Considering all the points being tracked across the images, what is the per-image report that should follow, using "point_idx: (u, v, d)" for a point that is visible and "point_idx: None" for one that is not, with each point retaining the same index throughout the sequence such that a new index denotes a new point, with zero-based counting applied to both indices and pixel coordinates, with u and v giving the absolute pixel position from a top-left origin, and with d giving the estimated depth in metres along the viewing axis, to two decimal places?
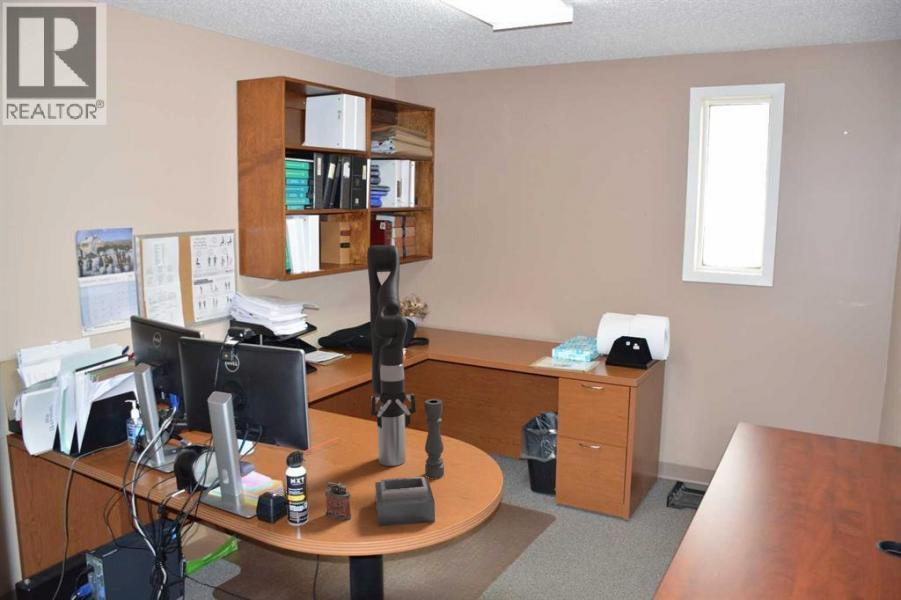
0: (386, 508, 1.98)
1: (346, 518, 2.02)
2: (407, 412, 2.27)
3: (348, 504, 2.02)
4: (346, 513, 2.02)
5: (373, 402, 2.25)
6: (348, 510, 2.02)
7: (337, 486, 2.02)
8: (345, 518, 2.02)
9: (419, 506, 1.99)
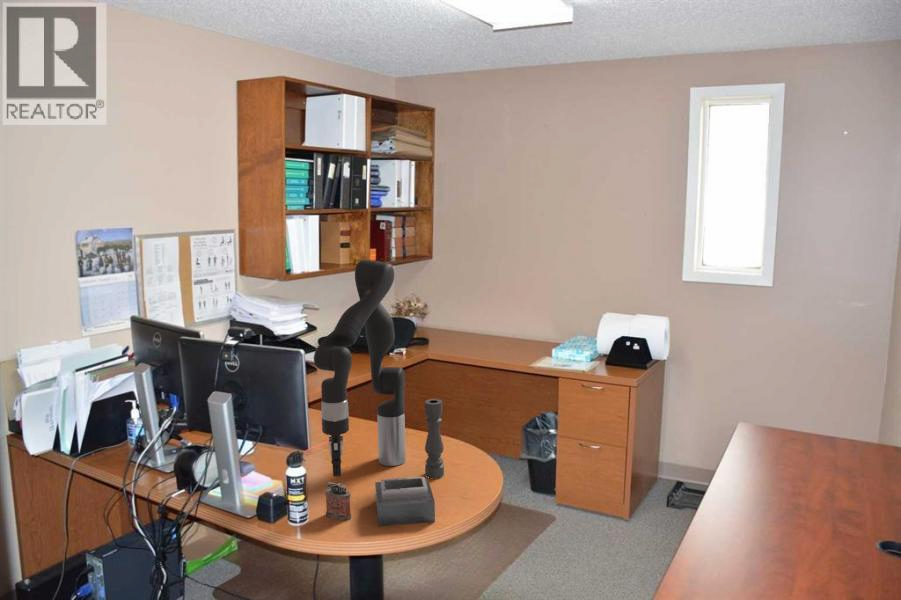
0: (386, 508, 1.98)
1: (346, 518, 2.02)
2: None
3: (348, 504, 2.02)
4: (346, 513, 2.02)
5: (340, 448, 1.94)
6: (348, 510, 2.02)
7: (337, 486, 2.02)
8: (345, 518, 2.02)
9: (419, 506, 1.99)
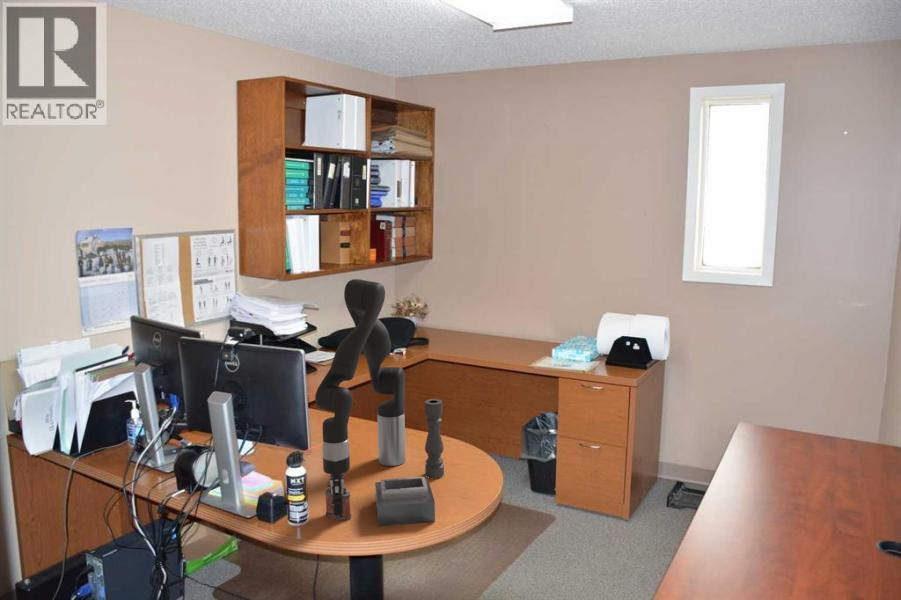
0: (386, 508, 1.98)
1: (346, 518, 2.02)
2: None
3: (348, 504, 2.02)
4: (346, 513, 2.02)
5: (341, 490, 1.97)
6: (348, 510, 2.02)
7: None
8: (345, 518, 2.02)
9: (419, 506, 1.99)
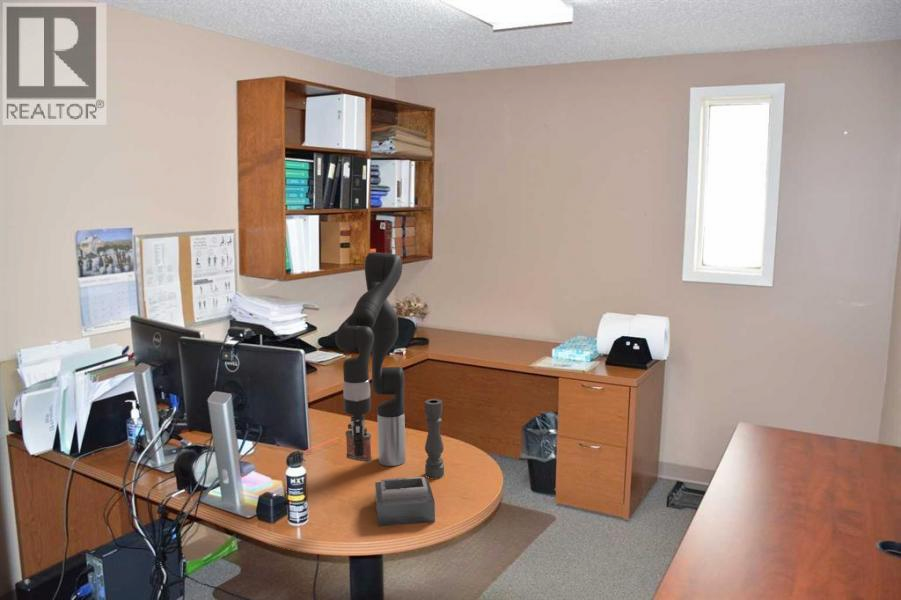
0: (386, 508, 1.98)
1: (367, 459, 2.00)
2: None
3: (369, 445, 2.00)
4: (367, 455, 2.00)
5: (362, 430, 1.95)
6: (369, 451, 2.00)
7: None
8: (366, 459, 2.00)
9: (419, 506, 1.99)
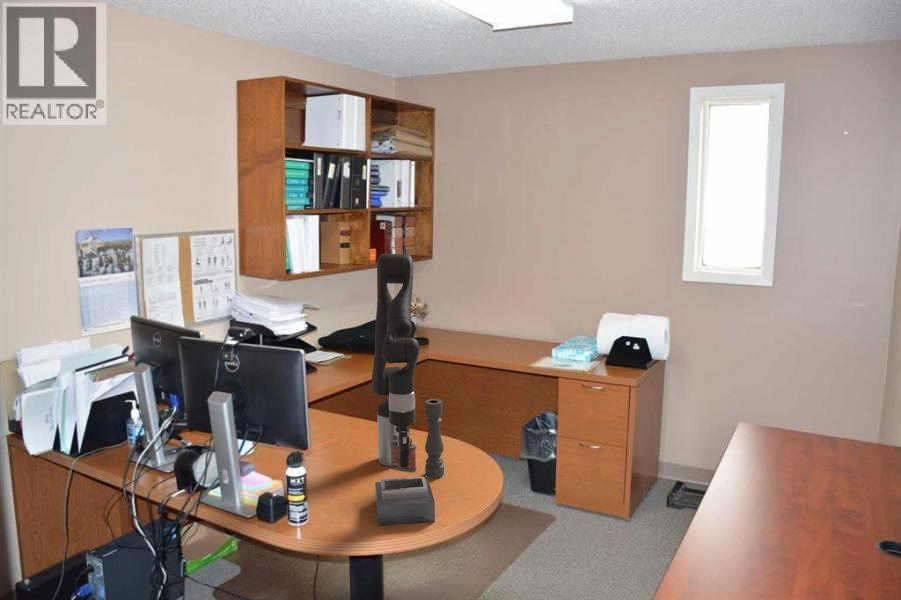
0: (386, 508, 1.98)
1: (412, 470, 2.02)
2: None
3: (414, 456, 2.02)
4: (412, 465, 2.02)
5: (408, 442, 1.98)
6: (414, 462, 2.03)
7: None
8: (411, 470, 2.02)
9: (419, 506, 1.99)
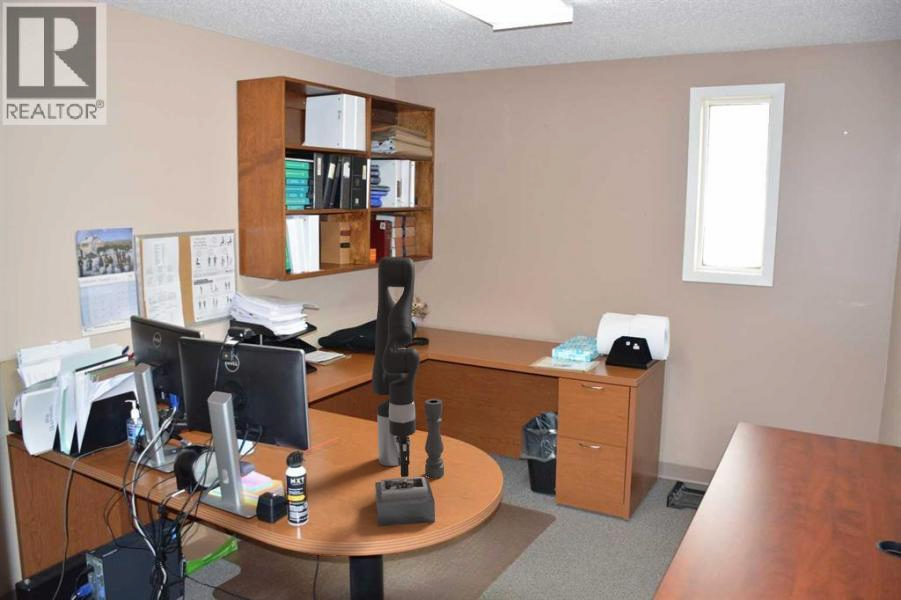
0: (386, 508, 1.98)
1: None
2: None
3: None
4: None
5: (408, 449, 1.97)
6: None
7: (405, 482, 2.04)
8: None
9: (419, 506, 1.99)
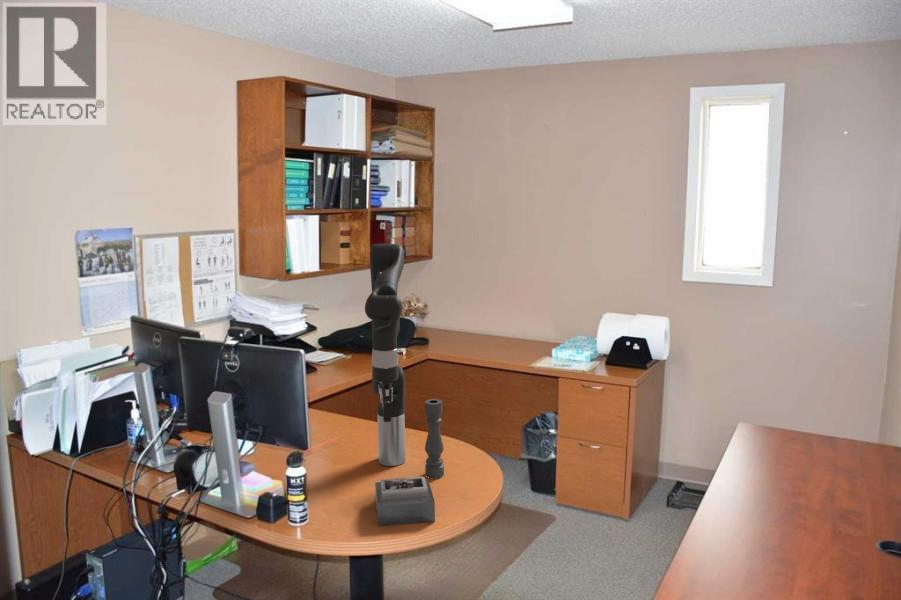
0: (386, 508, 1.98)
1: None
2: None
3: None
4: None
5: None
6: None
7: (405, 482, 2.04)
8: None
9: (419, 506, 1.99)
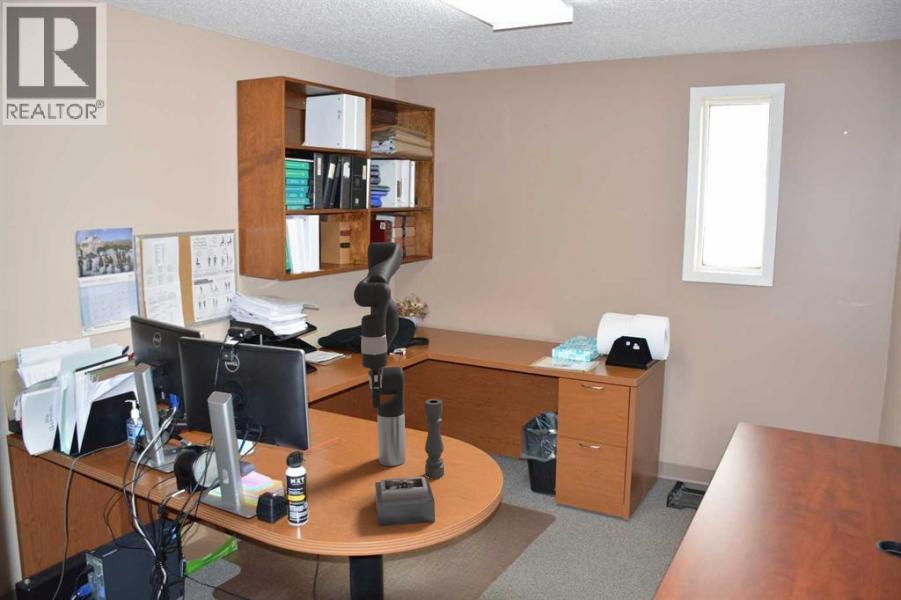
0: (386, 508, 1.98)
1: None
2: None
3: None
4: None
5: (380, 380, 2.03)
6: None
7: (405, 482, 2.04)
8: None
9: (419, 506, 1.99)
